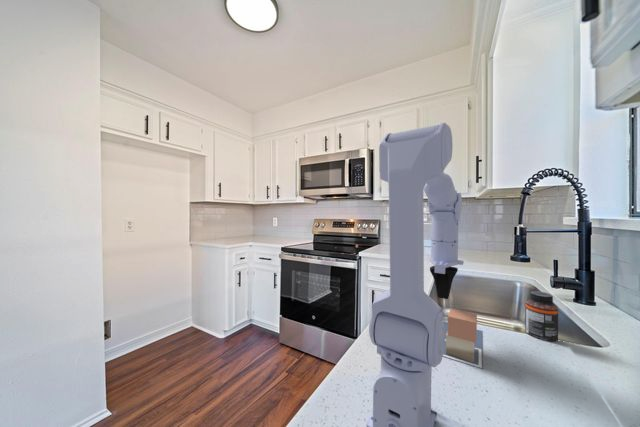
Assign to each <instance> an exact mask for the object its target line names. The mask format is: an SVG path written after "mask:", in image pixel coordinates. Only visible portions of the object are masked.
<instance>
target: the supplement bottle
mask: <svg viewBox="0 0 640 427" xmlns="http://www.w3.org/2000/svg"><path fill="white" fill-rule="evenodd" d="M524 328H525V333H526V334H527V335H529V336H530V337H532V338H534V339H537V340H540V341H545V342H549V343H550V342H551V343H555V342H558V341H559V307H558V305H557V304H555V303H554V296H553V295H552V294H551V293H548V292H545V291H537V290H533V291H531V292H530V298H529V299H527V300H525V324H524Z"/></svg>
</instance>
